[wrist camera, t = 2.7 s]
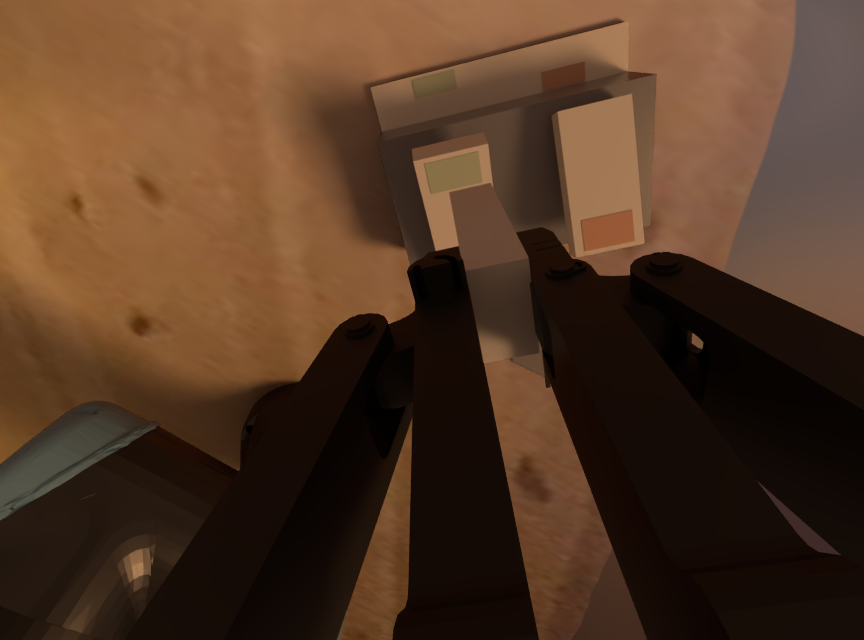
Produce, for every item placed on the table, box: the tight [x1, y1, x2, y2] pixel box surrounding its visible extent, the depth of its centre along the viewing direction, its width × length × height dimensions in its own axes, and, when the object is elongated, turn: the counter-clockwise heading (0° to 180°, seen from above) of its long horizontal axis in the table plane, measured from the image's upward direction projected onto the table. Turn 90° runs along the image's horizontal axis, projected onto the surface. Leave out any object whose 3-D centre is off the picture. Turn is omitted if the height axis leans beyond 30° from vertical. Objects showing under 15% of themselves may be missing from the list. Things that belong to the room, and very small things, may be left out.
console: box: [370, 21, 657, 265], centre depth 31 cm, size 18×13×6 cm
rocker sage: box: [412, 132, 493, 251], centre depth 29 cm, size 4×9×2 cm, turn 13°
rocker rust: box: [552, 94, 644, 258], centre depth 28 cm, size 4×9×2 cm, turn 13°
